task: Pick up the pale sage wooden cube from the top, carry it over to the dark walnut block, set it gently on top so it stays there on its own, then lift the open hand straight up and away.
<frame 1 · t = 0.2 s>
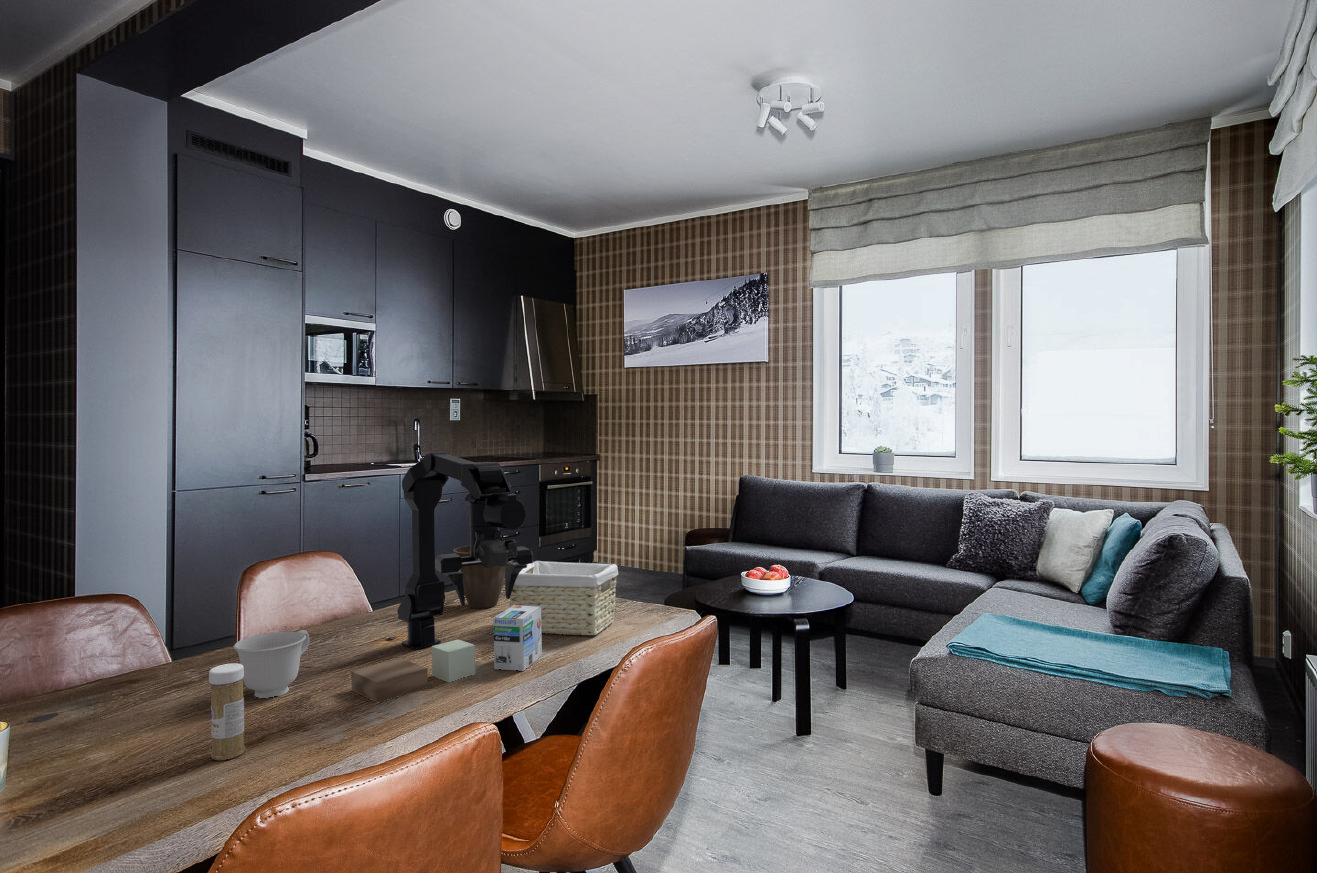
hand: (485, 601, 147), 14 cm above the table, tool pointing down, fingers open, 9 cm apart
light bulb box: (518, 663, 152), on the table
sage cube: (453, 675, 145), on the table
teacup: (278, 691, 138), on the table
sprinkles bottle: (228, 756, 111), on the table
plant pot: (482, 606, 201), on the table
storage basket: (564, 628, 179), on the table
walnut block: (389, 690, 138), on the table
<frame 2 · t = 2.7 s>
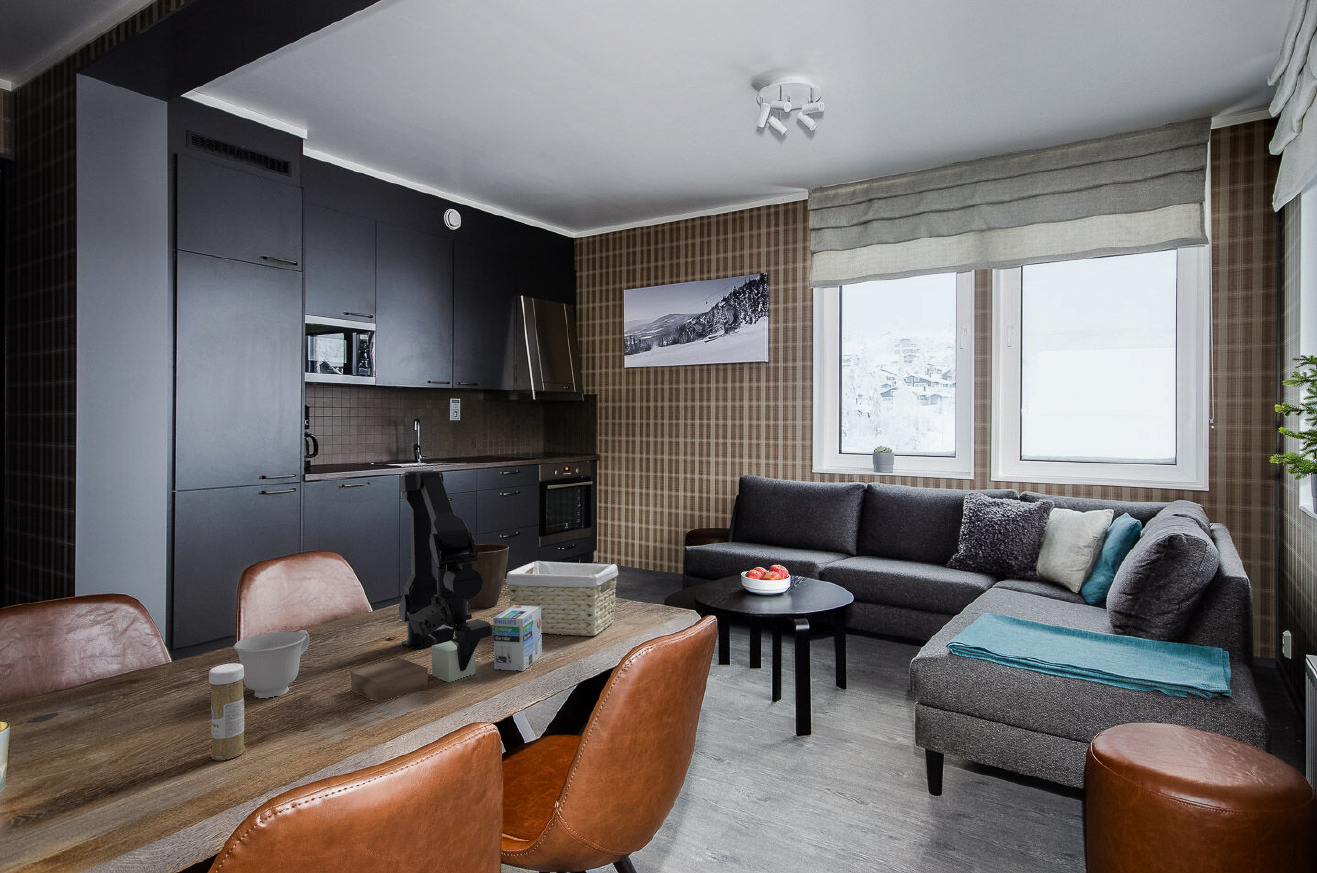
hand: (453, 667, 145), 2 cm above the table, tool pointing down, fingers closed on sage cube, 6 cm apart
sage cube: (453, 675, 145), on the table, touching gripper
everything else where it was.
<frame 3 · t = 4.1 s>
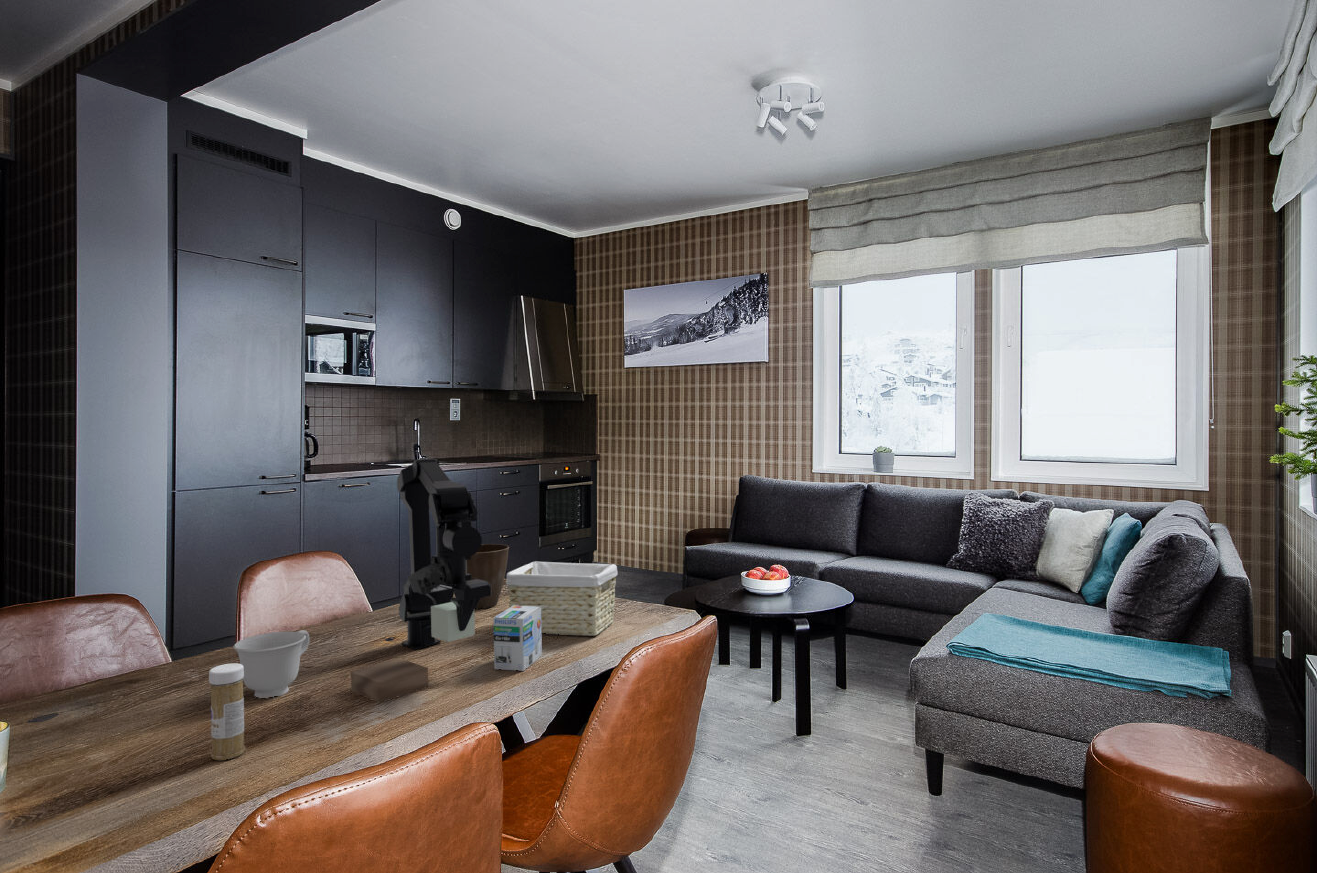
hand: (453, 628, 145), 9 cm above the table, tool pointing down, fingers closed on sage cube, 6 cm apart
sage cube: (453, 635, 145), point 8 cm above the table, touching gripper
everything else where it was.
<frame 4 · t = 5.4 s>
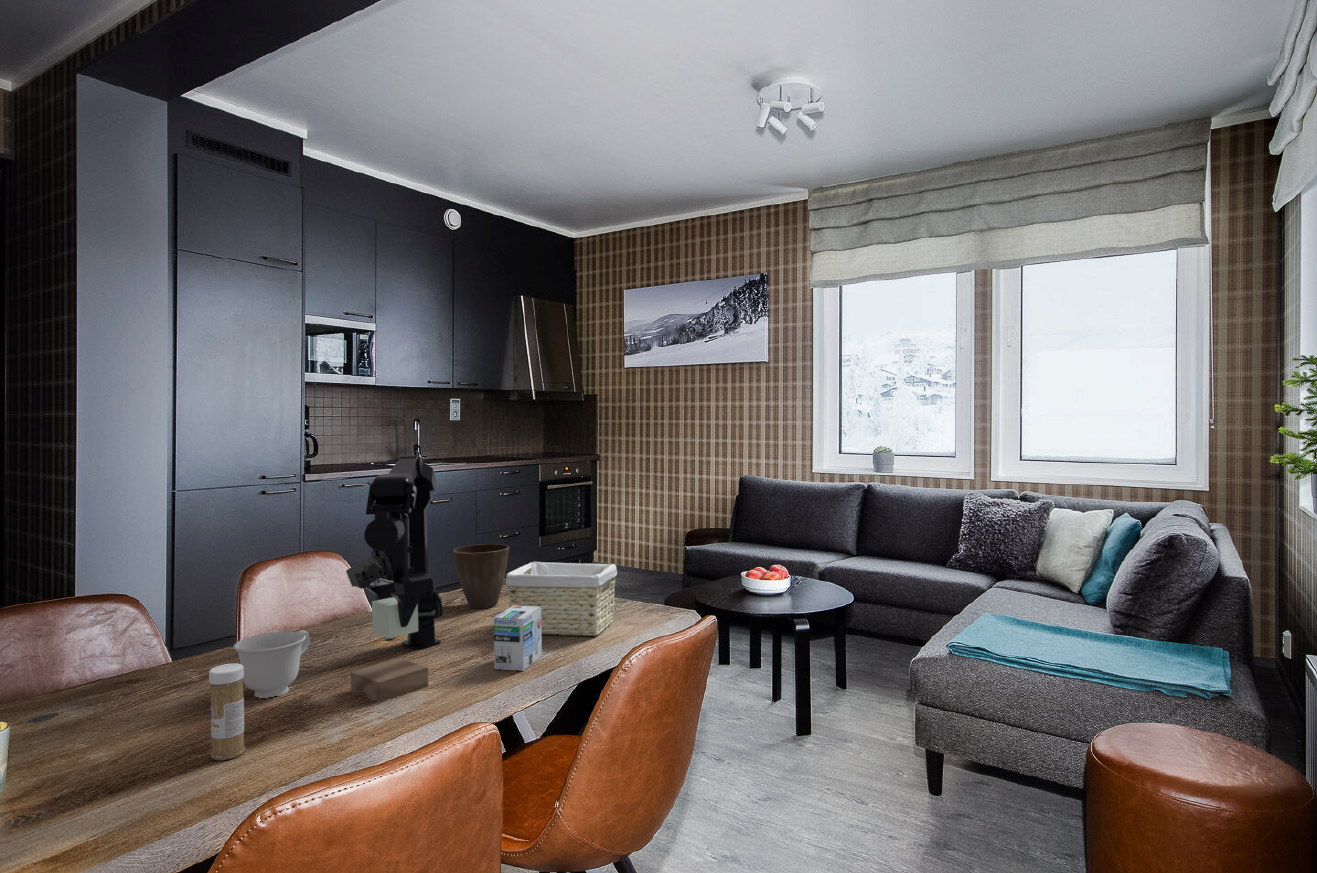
hand: (395, 624, 138), 12 cm above the table, tool pointing down, fingers closed on sage cube, 6 cm apart
sage cube: (395, 632, 138), point 11 cm above the table, touching gripper
everything else where it was.
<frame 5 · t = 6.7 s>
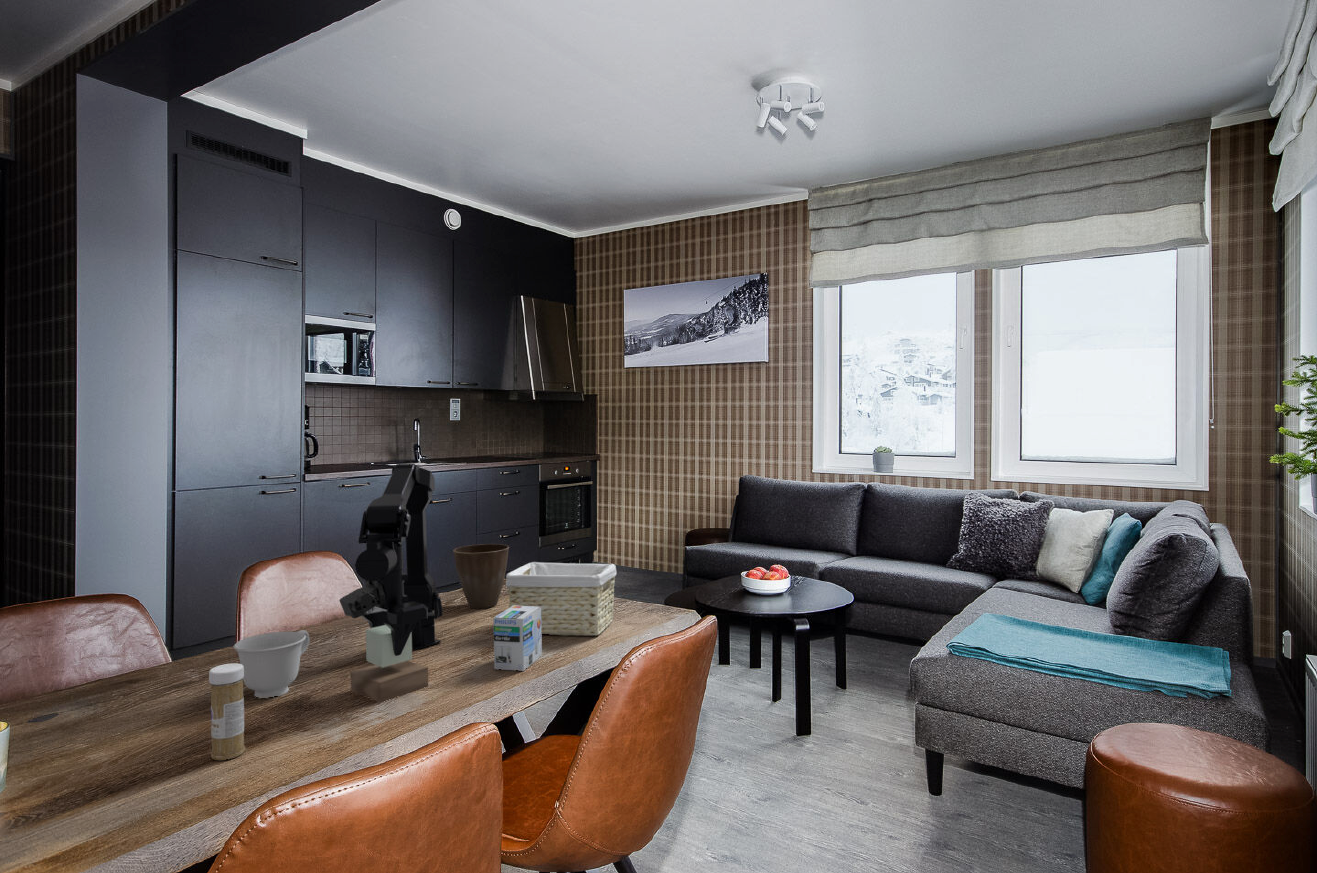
hand: (389, 652, 138), 7 cm above the table, tool pointing down, fingers closed on sage cube, 6 cm apart
sage cube: (389, 660, 138), point 5 cm above the table, touching gripper
everything else where it was.
when the fingers open (6 cm above the table, at t = 8.0 s): sage cube drops 1 cm, point 4 cm above the table.
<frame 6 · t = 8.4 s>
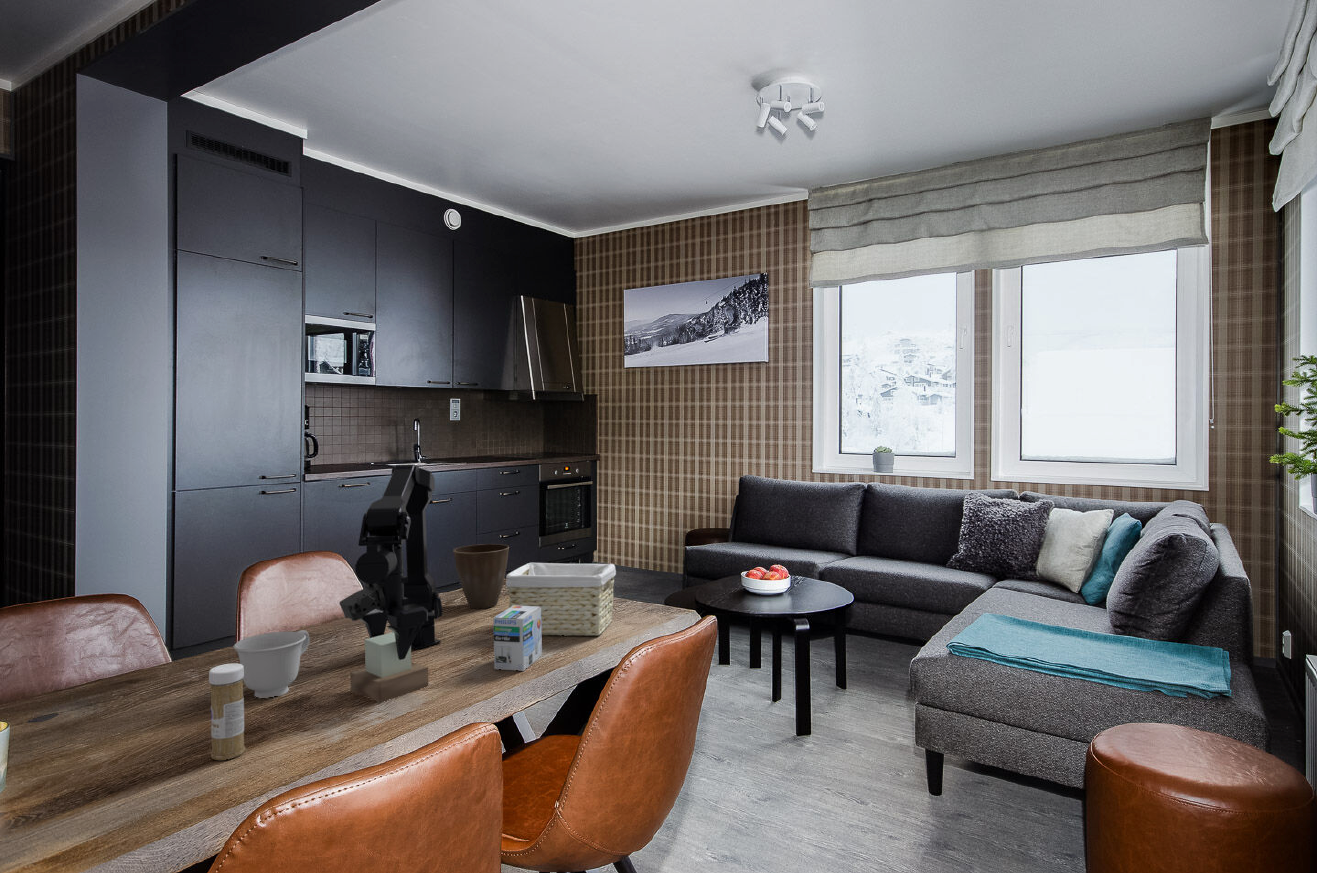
hand: (389, 654, 138), 6 cm above the table, tool pointing down, fingers open, 9 cm apart
sage cube: (388, 670, 138), point 4 cm above the table
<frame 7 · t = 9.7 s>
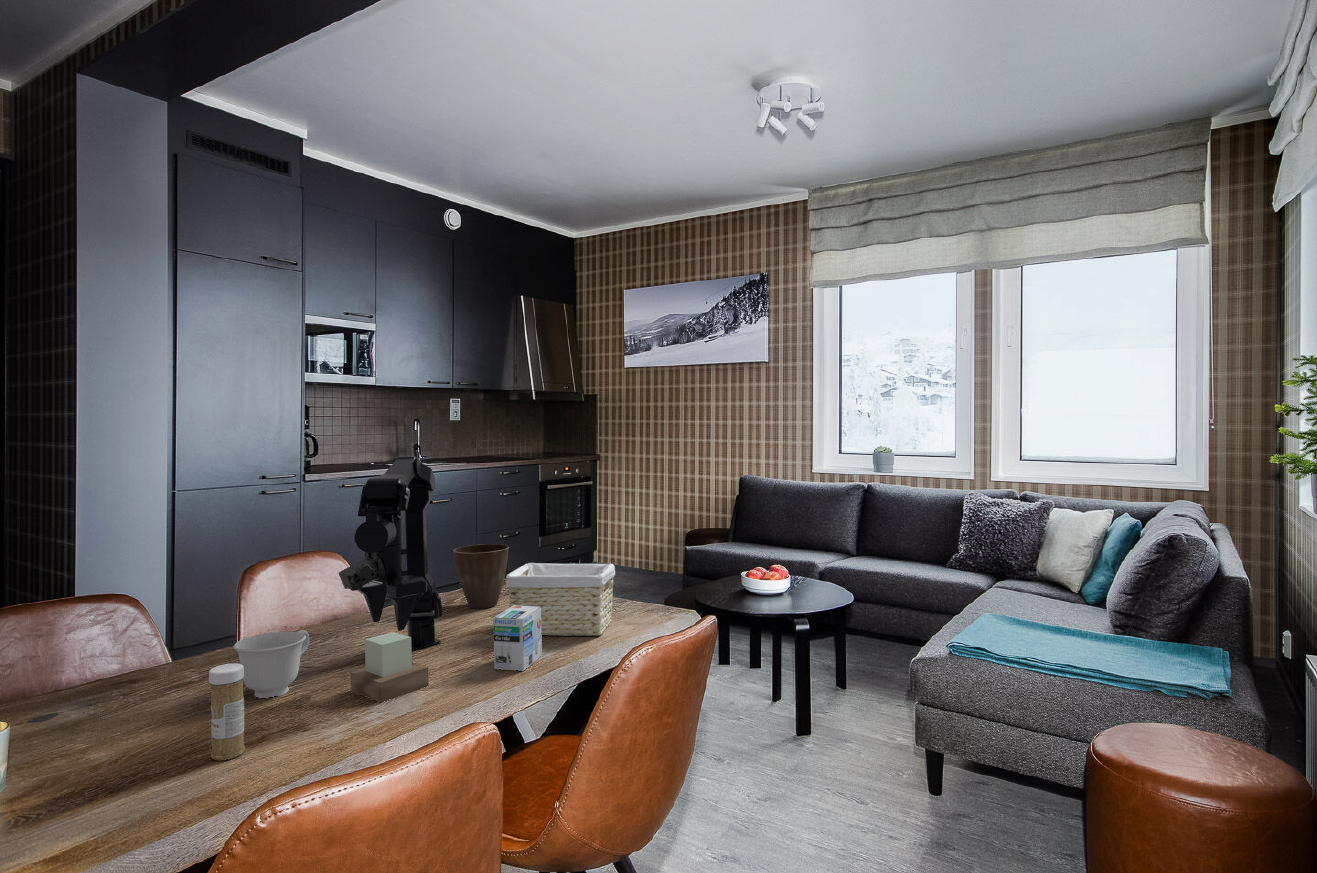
hand: (388, 626, 138), 12 cm above the table, tool pointing down, fingers open, 9 cm apart
sage cube: (388, 669, 138), point 4 cm above the table, touching walnut block
walnut block: (390, 690, 138), on the table, touching sage cube
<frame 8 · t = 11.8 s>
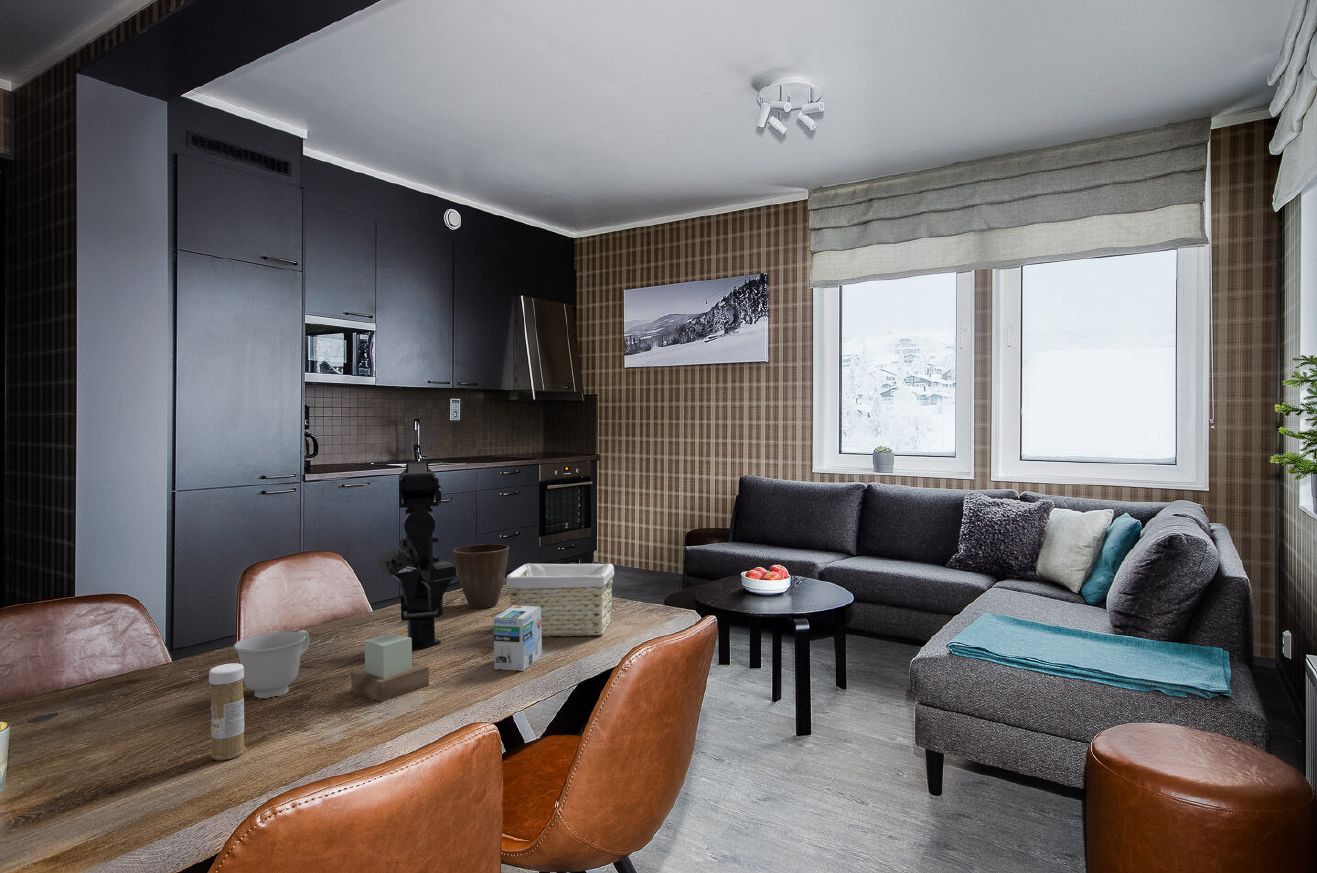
hand: (421, 608, 150), 12 cm above the table, tool pointing down, fingers open, 9 cm apart
at the end: sage cube inside the target area on the walnut block (0.7 cm from its centre), point 4.0 cm above the walnut block's base; sage cube tilted 0°; the gripper is holding nothing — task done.
